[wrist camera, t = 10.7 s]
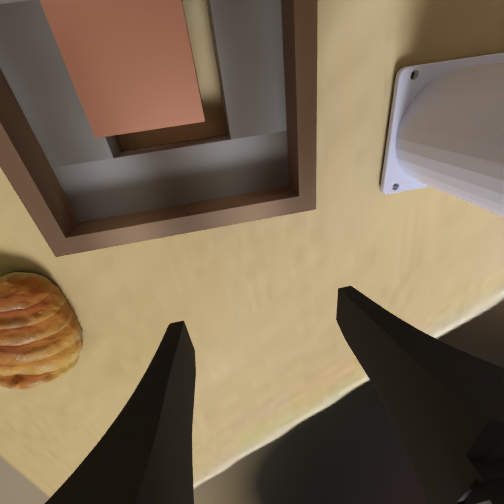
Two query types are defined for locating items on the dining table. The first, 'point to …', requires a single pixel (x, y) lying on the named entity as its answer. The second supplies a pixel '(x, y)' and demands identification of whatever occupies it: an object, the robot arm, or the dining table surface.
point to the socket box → (169, 155)
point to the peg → (128, 62)
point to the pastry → (35, 331)
